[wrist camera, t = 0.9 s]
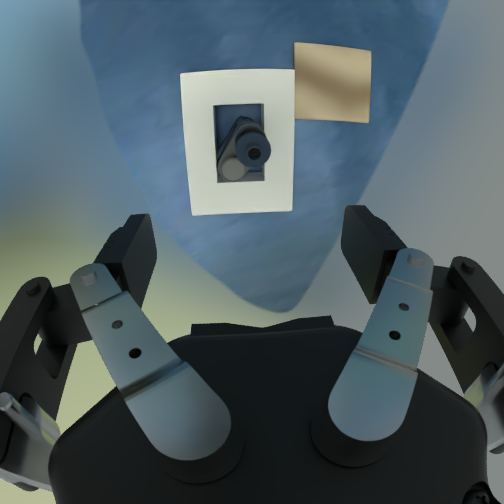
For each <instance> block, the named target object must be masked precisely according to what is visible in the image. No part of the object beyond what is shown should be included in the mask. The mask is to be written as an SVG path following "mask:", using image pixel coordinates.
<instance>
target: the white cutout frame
mask: <svg viewBox="0 0 504 504" xmlns="http://www.w3.org/2000/svg"><path fill="white" fill-rule="evenodd" d="M180 80H181V97H182V113H183V126H184V139H185V151H186V162H187V172H188V182H189V191H190V201H191V210H192V216H194V215H210V214H229V213H250V212H274V211H292V198H293V167H294V114H295V70H292V69H235V70H216V71H202V72H191V73H182V74H180ZM258 103H261V127H262V130H263V131H264V132H265V134H266V138H267V139H268V141H269V143H270V145H271V155H270V158H269V159H268V161H267V162H266V163H265V164H263V165H262V172H247V173H246V175H245V176H244V178H243V179H242V180H240V181H238V182H229V181H226V180H225V179H224V178H223V177H222V176H221V175H220V174H219V173H218V171H217V168H216V162H217V138H216V119H215V105H228V104H258Z"/></svg>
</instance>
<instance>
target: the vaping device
mask: <svg viewBox="0 0 504 504" xmlns="http://www.w3.org/2000/svg"><path fill="white" fill-rule="evenodd" d="M270 155H271V145H270V143H269V141H268V139H267V138H266V134H265V132H264V131H263V130H262V127H261V126H260V125H258V124H257V123H256V122H255V121H254V120H252V119H251V118H248V117H242V116H240V117H239V118H238V119H237V120H236V122H235V123H234V125H233V127H232V128H231V130H230V132H229V133H228V135H227V137H226V138H225V140H224V141H223V143H222V144H221V146H220V148H219V151H218V156H217V162H216V168H217V171H218V173H219V174H220V175H221V176H222V177H223V178H224V179H225V180H226V181H229V182H238V181H240V180H242V179H243V178H244V176H245V175H246V173H247V172H248V170H249V169H250V167H259V166H261V165H263V164H265V163H266V162H267V161H268V159H269V158H270Z"/></svg>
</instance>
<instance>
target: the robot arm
mask: <svg viewBox="0 0 504 504" xmlns="http://www.w3.org/2000/svg"><path fill="white" fill-rule="evenodd" d="M341 249H342V252H343V255H344V256H345V258H346V260H347V262H348V264H349V266H350V267H351V269H352V271H353V273H354V275H355V276H356V279H357V281H358V282H359V284H360V286H361V288H362V290H363V292H364V294H365V296H366V298H367V300H368V302H369V304H376V305H375V307H374V310H373V312H372V314H371V316H370V319H369V321H368V323H367V325H366V328H365V330H364V332H363V333H361V332H359V331H357V330H354V329H351V328H347V327H343V326H336V325H334V323H333V320H332V318H331V315H330V316H321V317H310V318H298V319H294V320H291V321H287V322H284V323H280V324H276V325H273V326H269V327H264V328H260V327H252V326H245V325H237V324H230V323H210V324H192V326H191V334H190V335H185V336H182V337H179V338H177V339H175V340H172V341H170V342H169V343H166V341H165V340H164V339H163V338H162V336H161V335H160V334H159V333H158V331H157V330H156V329H155V327H154V326H153V325H152V324H151V322H150V321H149V320H148V318H147V317H146V316H145V314H144V313H143V312H142V310H141V307H142V304H143V301H144V298H145V294H146V291H147V288H148V285H149V282H150V279H151V276H152V273H153V270H154V267H155V264H156V259H157V250H156V244H155V239H154V234H153V228H152V223H151V218H150V215H149V214H136V215H130V217H129V218H128V220H127V221H126V223H125V225H124V226H123V227H119V228H118V229H117V230H116V231H114V232H113V233H112V234H111V235H110V236H109V238H108V240H107V242H106V243H105V244H104V246H103V248H102V249H101V251H100V252H99V254H98V256H97V257H96V259H95V261H94V262H93V263H92V264H88V265H85V266H83V267H81V268H79V269H78V270H76V271H75V272H74V273H73V274H72V276H71V278H70V283H69V284H66V285H62V286H58V287H54V288H52V286H51V283H50V281H49V280H48V278H46V277H37V278H33V279H31V280H29V281H28V282H26V283H25V284H24V285H23V286H22V287H21V288H20V289H19V291H18V292H17V294H16V296H15V297H14V299H13V300H12V302H11V304H10V305H9V307H8V309H7V310H6V312H5V314H4V316H3V317H2V319H1V321H0V478H2V479H4V480H5V481H7V482H10V483H12V484H14V485H16V486H18V487H19V488H21V489H23V490H26V491H35V490H37V489H39V488H41V489H45V490H48V491H52V492H53V494H54V497H55V500H56V504H501V503H500V502H498V501H497V500H496V498H495V497H494V496H493V494H492V493H491V490H490V488H489V485H488V478H487V463H486V462H487V452H488V451H489V452H491V453H494V454H500V453H503V452H504V294H503V293H502V292H501V290H500V289H499V288H498V287H497V285H496V284H495V283H494V282H493V280H492V279H491V278H490V277H489V276H488V274H487V273H486V272H485V271H484V270H483V268H482V267H481V266H480V265H479V264H478V263H477V262H475V261H473V260H472V259H470V258H467V257H462V256H457V257H455V258H453V260H452V263H451V265H450V268H447V267H441V266H434V262H433V260H432V258H431V257H430V256H429V255H428V254H426V253H425V252H423V251H420V250H418V249H413V248H407V247H406V245H405V244H404V243H403V242H402V240H401V239H400V238H399V237H398V236H397V235H396V234H395V232H394V231H393V230H391V228H390V227H389V226H388V224H387V223H386V222H385V221H383V220H381V219H380V218H378V217H376V216H374V215H373V214H372V213H371V212H370V211H369V209H367V207H366V206H365V205H348V206H347V207H346V209H345V214H344V221H343V229H342V236H341ZM468 307H470V309H471V310H472V312H473V313H474V315H475V317H476V328H475V330H474V332H472V330H471V328H470V327H469V325H468V323H467V322H466V320H465V319H464V316H465V313H466V312H467V310H468ZM428 322H429V323H430V325H431V327H432V329H433V331H434V333H435V335H436V336H437V338H438V340H439V342H440V344H441V346H442V348H443V350H444V352H445V354H446V356H447V358H448V360H449V362H450V365H451V367H452V368H453V371H454V373H455V375H456V377H457V380H458V381H459V384H460V386H461V388H462V391H463V393H464V398H463V397H461V396H460V395H458V394H457V393H455V392H454V391H452V390H451V389H449V388H447V387H446V386H444V385H443V384H441V383H440V382H438V381H436V380H435V379H433V378H432V377H430V376H429V375H427V374H426V373H424V372H423V371H421V370H420V369H418V368H417V366H418V362H419V358H420V353H421V350H422V346H423V341H424V337H425V332H426V328H427V323H428ZM37 334H39V335H40V337H41V338H42V341H41V343H40V346H39V348H38V351H37V353H36V355H35V352H34V341H35V339H36V336H37ZM90 340H93V341H94V343H95V345H96V347H97V349H98V351H99V353H100V355H101V357H102V359H103V361H104V363H105V365H106V367H107V369H108V371H109V373H110V375H111V377H112V378H113V380H114V382H115V384H116V387H115V388H114V389H112V390H111V391H110V392H109V393H108V394H107V395H106V396H105V397H103V398H102V399H101V400H100V401H99V402H98V403H97V404H96V405H94V406H93V407H92V408H91V409H90V410H89V411H88V412H86V413H85V414H84V415H83V416H82V417H81V418H80V419H78V420H77V421H76V422H75V423H74V424H73V425H72V426H71V427H69V428H68V429H67V430H66V431H65V432H64V433H63V434H62V435H61V436H60V430H59V427H58V425H57V423H56V422H55V421H56V417H57V413H58V409H59V405H60V401H61V397H62V394H63V390H64V386H65V383H66V379H67V376H68V373H69V369H70V366H71V363H72V360H73V357H74V353H75V350H76V347H77V344H78V343H81V342H85V341H90Z"/></svg>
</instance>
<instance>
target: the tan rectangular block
mask: <svg viewBox="0 0 504 504" xmlns="http://www.w3.org/2000/svg"><path fill="white" fill-rule="evenodd" d="M293 53H294V70H295V114H294V119H316V120H336V121H350V122H362V123H369V109H370V87H371V51H366V50H360V49H354V48H347V47H340V46H331V45H322V44H311V43H297V42H294V43H293Z"/></svg>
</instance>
